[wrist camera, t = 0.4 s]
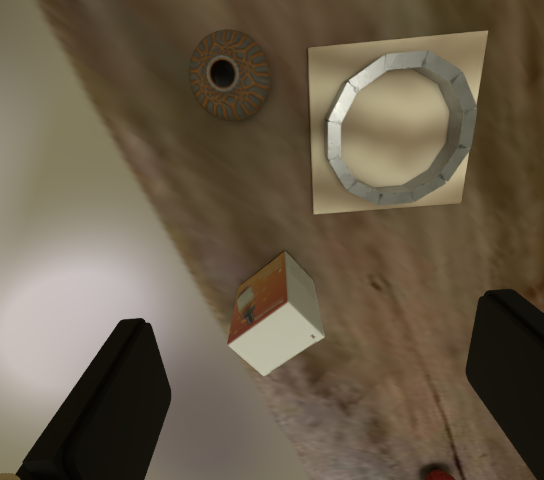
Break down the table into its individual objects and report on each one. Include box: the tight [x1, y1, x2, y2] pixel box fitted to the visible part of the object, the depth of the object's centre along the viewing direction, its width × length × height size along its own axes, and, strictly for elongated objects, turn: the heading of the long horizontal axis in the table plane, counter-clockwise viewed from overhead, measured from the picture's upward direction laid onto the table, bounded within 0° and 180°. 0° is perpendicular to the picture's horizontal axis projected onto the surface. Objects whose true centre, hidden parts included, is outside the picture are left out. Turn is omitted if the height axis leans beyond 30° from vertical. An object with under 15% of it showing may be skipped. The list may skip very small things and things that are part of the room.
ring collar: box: [324, 50, 477, 205], centre depth 31 cm, size 13×13×2 cm
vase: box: [189, 30, 271, 121], centre depth 27 cm, size 7×7×9 cm
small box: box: [227, 251, 325, 376], centre depth 35 cm, size 8×6×10 cm
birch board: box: [307, 31, 488, 214], centre depth 33 cm, size 16×16×1 cm
